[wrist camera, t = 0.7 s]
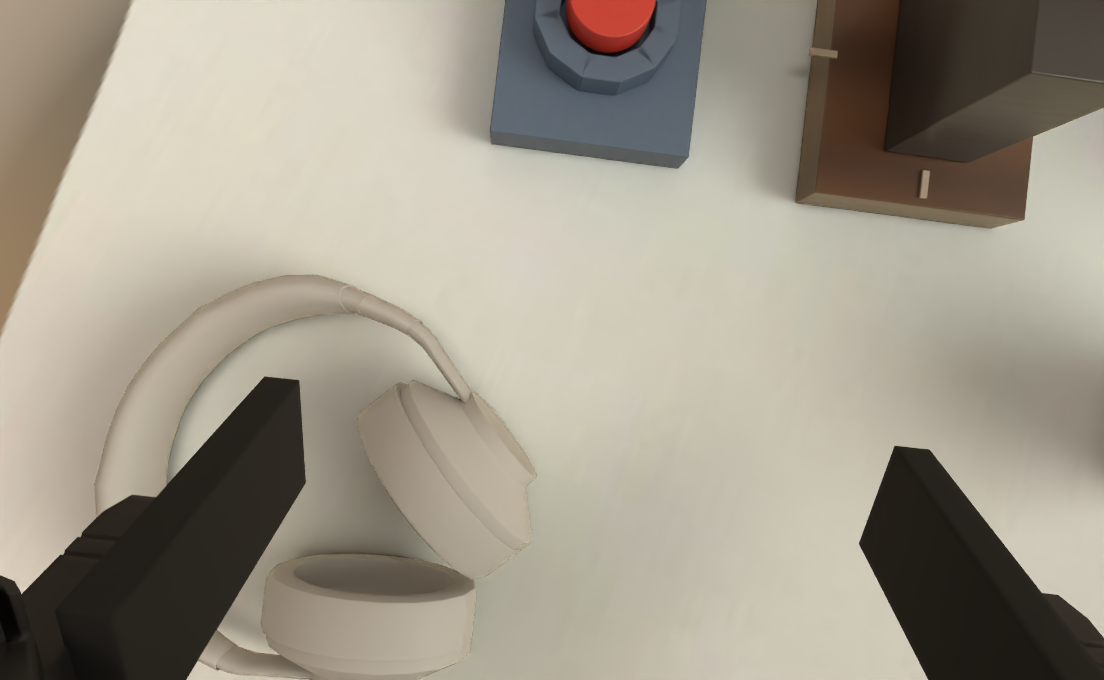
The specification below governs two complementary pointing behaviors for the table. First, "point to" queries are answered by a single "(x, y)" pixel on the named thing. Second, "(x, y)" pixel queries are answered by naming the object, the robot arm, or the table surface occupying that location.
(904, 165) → the swivel stand
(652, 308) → the table surface
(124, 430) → the headphones
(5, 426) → the table surface
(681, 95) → the control box
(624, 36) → the button
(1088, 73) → the gadget
